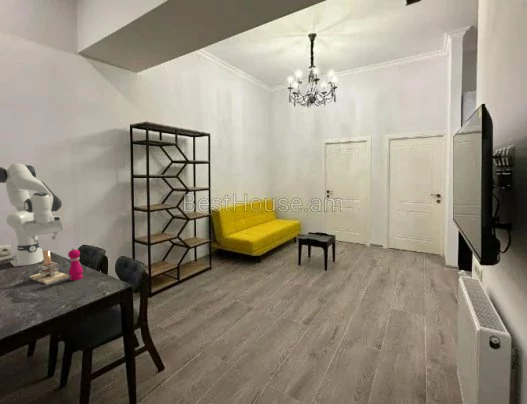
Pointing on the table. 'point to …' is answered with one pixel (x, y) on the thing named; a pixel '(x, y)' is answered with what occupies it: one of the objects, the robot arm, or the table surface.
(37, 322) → the table surface
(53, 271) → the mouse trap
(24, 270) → the table surface
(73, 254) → the pepper mill
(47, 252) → the brown rounded cylinder
